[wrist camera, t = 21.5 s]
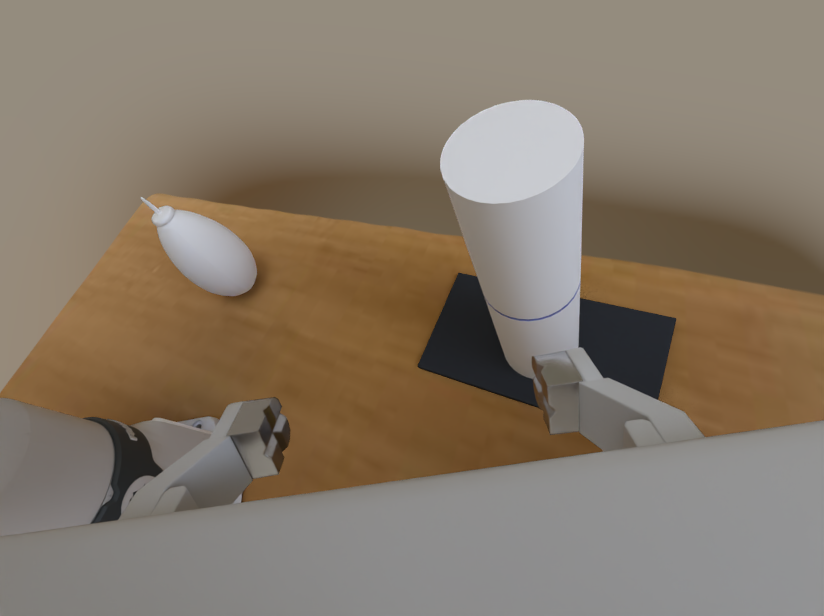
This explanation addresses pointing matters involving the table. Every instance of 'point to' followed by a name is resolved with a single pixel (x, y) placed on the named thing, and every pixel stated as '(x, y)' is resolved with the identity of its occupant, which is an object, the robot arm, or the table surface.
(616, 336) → the felt mat
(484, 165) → the cylindrical container
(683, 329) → the table surface
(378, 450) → the table surface
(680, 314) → the table surface
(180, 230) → the white bulb air blower
